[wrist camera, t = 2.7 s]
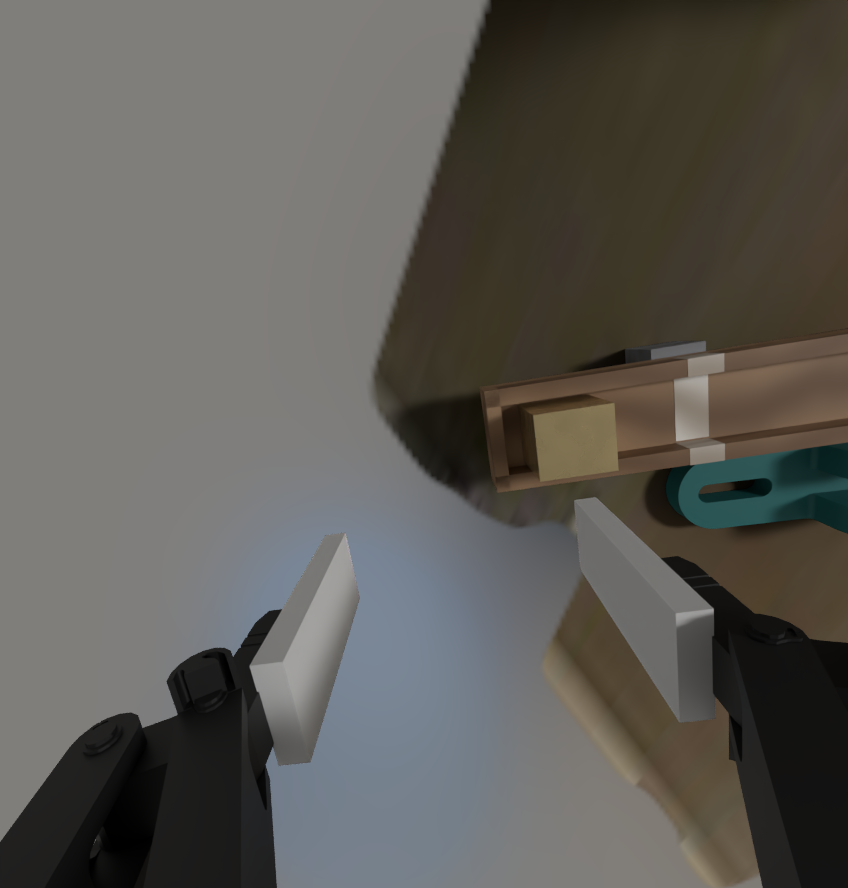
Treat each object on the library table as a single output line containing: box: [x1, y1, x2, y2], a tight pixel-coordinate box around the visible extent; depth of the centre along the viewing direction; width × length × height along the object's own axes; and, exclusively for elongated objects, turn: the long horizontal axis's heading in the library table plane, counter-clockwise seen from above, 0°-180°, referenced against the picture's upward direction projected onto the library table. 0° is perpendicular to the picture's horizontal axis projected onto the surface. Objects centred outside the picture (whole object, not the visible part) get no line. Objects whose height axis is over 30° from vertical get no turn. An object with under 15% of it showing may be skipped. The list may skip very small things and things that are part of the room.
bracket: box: [666, 442, 848, 533], centre depth 35 cm, size 18×7×8 cm, turn 98°
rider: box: [518, 394, 619, 482], centre depth 29 cm, size 4×5×5 cm
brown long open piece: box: [480, 328, 848, 493], centre depth 33 cm, size 9×30×8 cm, turn 99°
